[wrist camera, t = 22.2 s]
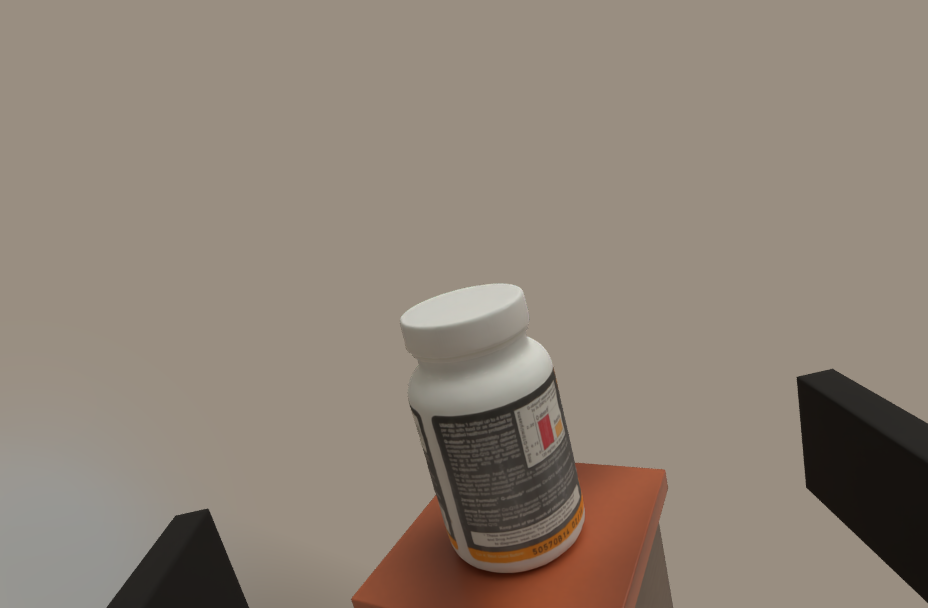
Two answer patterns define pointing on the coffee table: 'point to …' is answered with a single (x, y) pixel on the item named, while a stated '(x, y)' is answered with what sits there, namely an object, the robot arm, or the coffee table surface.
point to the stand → (549, 586)
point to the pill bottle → (492, 429)
